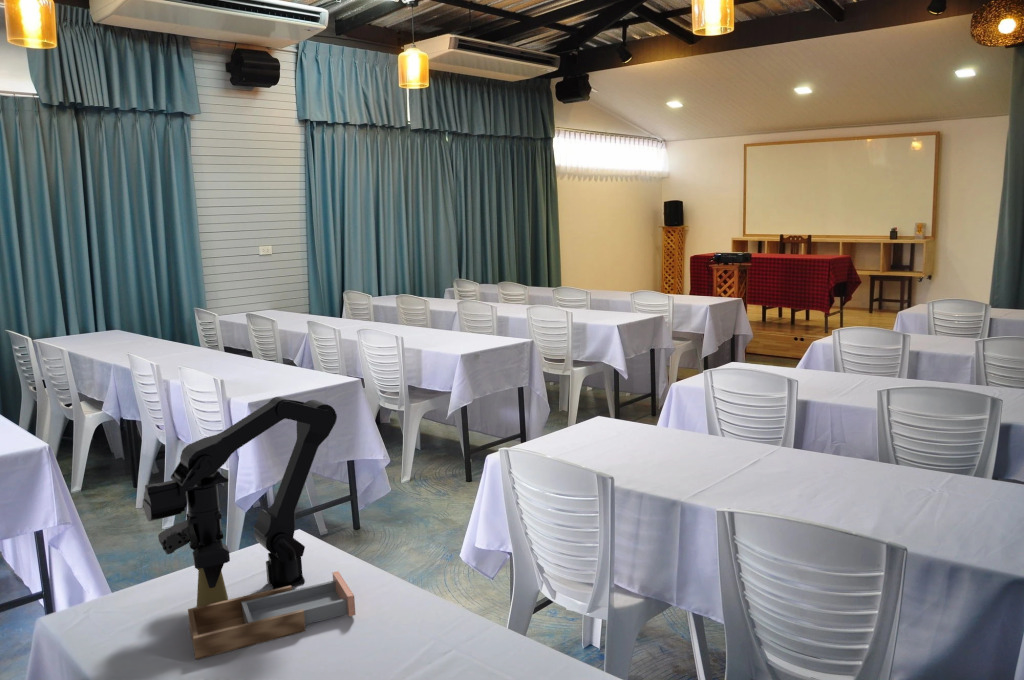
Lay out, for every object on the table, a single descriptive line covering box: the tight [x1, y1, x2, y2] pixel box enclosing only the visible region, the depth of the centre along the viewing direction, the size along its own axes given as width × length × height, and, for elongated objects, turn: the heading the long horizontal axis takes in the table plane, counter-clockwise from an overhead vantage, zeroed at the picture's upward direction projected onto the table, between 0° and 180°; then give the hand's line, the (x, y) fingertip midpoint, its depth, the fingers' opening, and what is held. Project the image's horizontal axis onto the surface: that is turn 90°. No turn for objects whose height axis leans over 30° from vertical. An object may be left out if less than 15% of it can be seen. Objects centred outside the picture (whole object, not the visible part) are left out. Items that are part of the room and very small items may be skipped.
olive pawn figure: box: [195, 568, 229, 607], centre depth 155 cm, size 6×6×11 cm
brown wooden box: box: [187, 585, 306, 661], centre depth 146 cm, size 19×12×4 cm, turn 117°
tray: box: [241, 570, 356, 625], centre depth 150 cm, size 19×12×4 cm, turn 117°
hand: (210, 582), depth 156 cm, fingers closed on olive pawn figure, 4 cm apart
